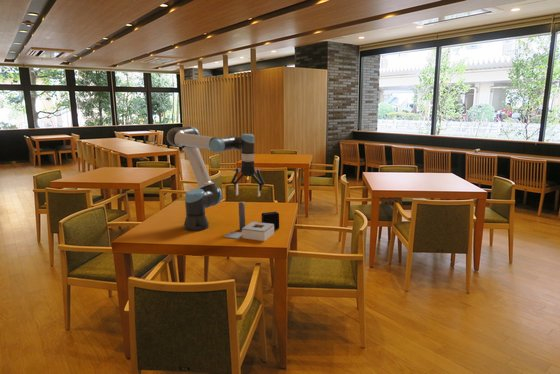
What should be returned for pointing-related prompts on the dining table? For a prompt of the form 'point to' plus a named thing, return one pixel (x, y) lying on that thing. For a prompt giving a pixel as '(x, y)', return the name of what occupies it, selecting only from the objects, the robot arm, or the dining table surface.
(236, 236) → the pad
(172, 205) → the dining table surface
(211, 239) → the dining table surface
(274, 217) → the electronic device
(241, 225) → the stylus
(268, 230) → the box
